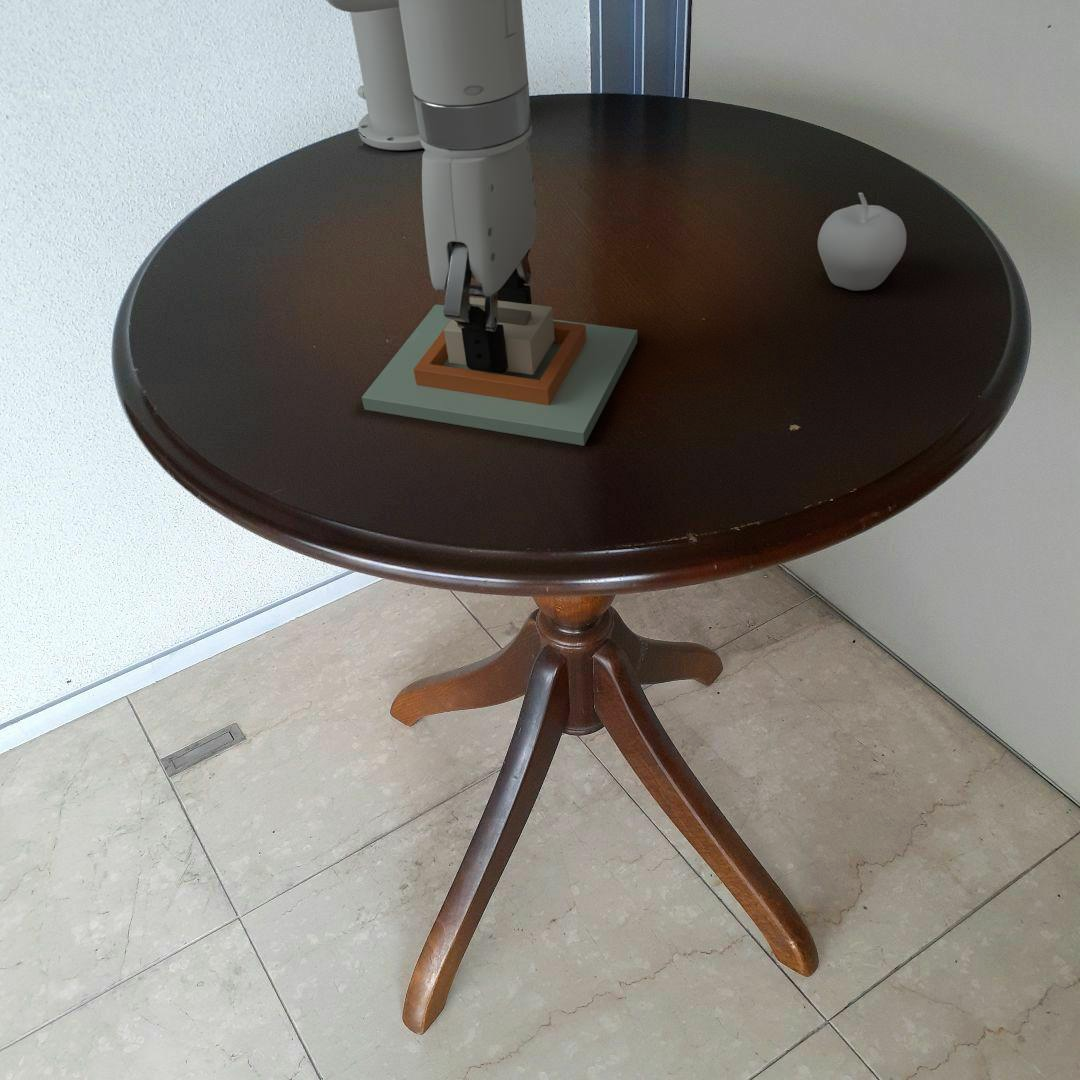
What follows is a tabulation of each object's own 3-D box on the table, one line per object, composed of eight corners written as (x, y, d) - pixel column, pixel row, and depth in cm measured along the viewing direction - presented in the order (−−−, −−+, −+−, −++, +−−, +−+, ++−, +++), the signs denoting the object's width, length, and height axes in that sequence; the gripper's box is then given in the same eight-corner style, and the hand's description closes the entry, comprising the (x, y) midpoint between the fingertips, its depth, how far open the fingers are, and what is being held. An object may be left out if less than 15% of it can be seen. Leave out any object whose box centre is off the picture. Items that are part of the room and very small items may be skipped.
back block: (448, 363, 79) (442, 322, 77) (473, 329, 83) (468, 289, 80) (533, 375, 77) (529, 334, 75) (555, 340, 81) (552, 299, 78)
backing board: (364, 409, 80) (357, 381, 78) (437, 316, 89) (432, 288, 87) (584, 446, 74) (582, 416, 73) (637, 342, 84) (637, 313, 82)
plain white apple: (804, 264, 91) (814, 177, 85) (885, 257, 91) (900, 169, 85) (823, 306, 86) (835, 215, 80) (909, 298, 86) (926, 207, 80)
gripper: (470, 65, 74) (496, 289, 87) (364, 163, 63) (411, 405, 75) (568, 70, 72) (581, 299, 85) (476, 172, 61) (506, 420, 73)
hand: (501, 347), depth 80 cm, fingers closed on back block, 4 cm apart
